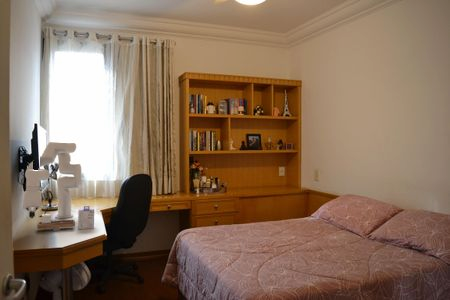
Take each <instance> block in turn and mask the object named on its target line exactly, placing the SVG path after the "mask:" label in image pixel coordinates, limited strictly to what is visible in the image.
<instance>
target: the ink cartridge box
mask: <svg viewBox="0 0 450 300" xmlns="http://www.w3.org/2000/svg"><path fill="white" fill-rule="evenodd" d="M77 218H78V219H77V229H78V230H84V229H85V230H87V229H94V227H95V226H94V225H95V209H93V208H92V209H91V208H90V206H89V205H88V206H86V205H85V206H83V209H78V215H77Z"/></svg>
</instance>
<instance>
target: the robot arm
mask: <svg viewBox="0 0 450 300" xmlns="http://www.w3.org/2000/svg"><path fill="white" fill-rule="evenodd" d="M76 149H77V144H76V142H75V141H72V140H71V141H70V140H69V141H68V140H53V141H49V142H48V143H47V145H46V147H45V149H44V150H43V153H42V154H41V155H40V156H39V157H40V167H39V168H38V170H34V169H33V161H31V162H30V163H29V164H28V166H27V168H26V170H25V174H24V176H25V178H26V182H25V191H24V194H23V202H22V209H23V210H25V211H26V210H27V212H29V213H28V214H29V218H30V219H34V217H35V216H36V211H37V210H39V209H42V204H43V203H42V198H43V197H42V191H41V190H43V187H41V181H47V180H48V179H49V178H50V177H51V173H50V171H49V170H48V169H46V168H41V167H44V166H47V165H50V164H53V163H54V162H55V159H56V158H58V172H59V173H60V174H61V176H59V177H58V178H57V180H56V184H57V192H58V193H57V194H58V195H57V196H58V197H57V198H58V199H57V214H56V215H55V218H57V219H67V218H72V217H74V213H72V204H73V203H72V199H73V198H72V197H73V196H72V195H73V193H72V191H71V189H80V188H81V186H82V182H83V181H82V178H83V177H82V166H81V164H80V163H79V162H76V161H75V162H74V161H72V159H71V154H72V153H74V152H75V151H76ZM32 208H33V210H32Z"/></svg>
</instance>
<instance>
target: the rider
mask: <svg viewBox="0 0 450 300" xmlns="http://www.w3.org/2000/svg"><path fill="white" fill-rule="evenodd" d="M51 218H52V214H51V213H42V215H41V222H42V224H47V223H51V221H52V220H51Z"/></svg>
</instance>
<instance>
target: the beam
mask: <svg viewBox="0 0 450 300" xmlns="http://www.w3.org/2000/svg"><path fill="white" fill-rule="evenodd" d="M36 227H37V228H36V229H37V230H45V229H46V230H47V229H52V232H60V231H61V228H74V227H76V219H63V220H51V223H47V224H42V221H37V224H36Z"/></svg>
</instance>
